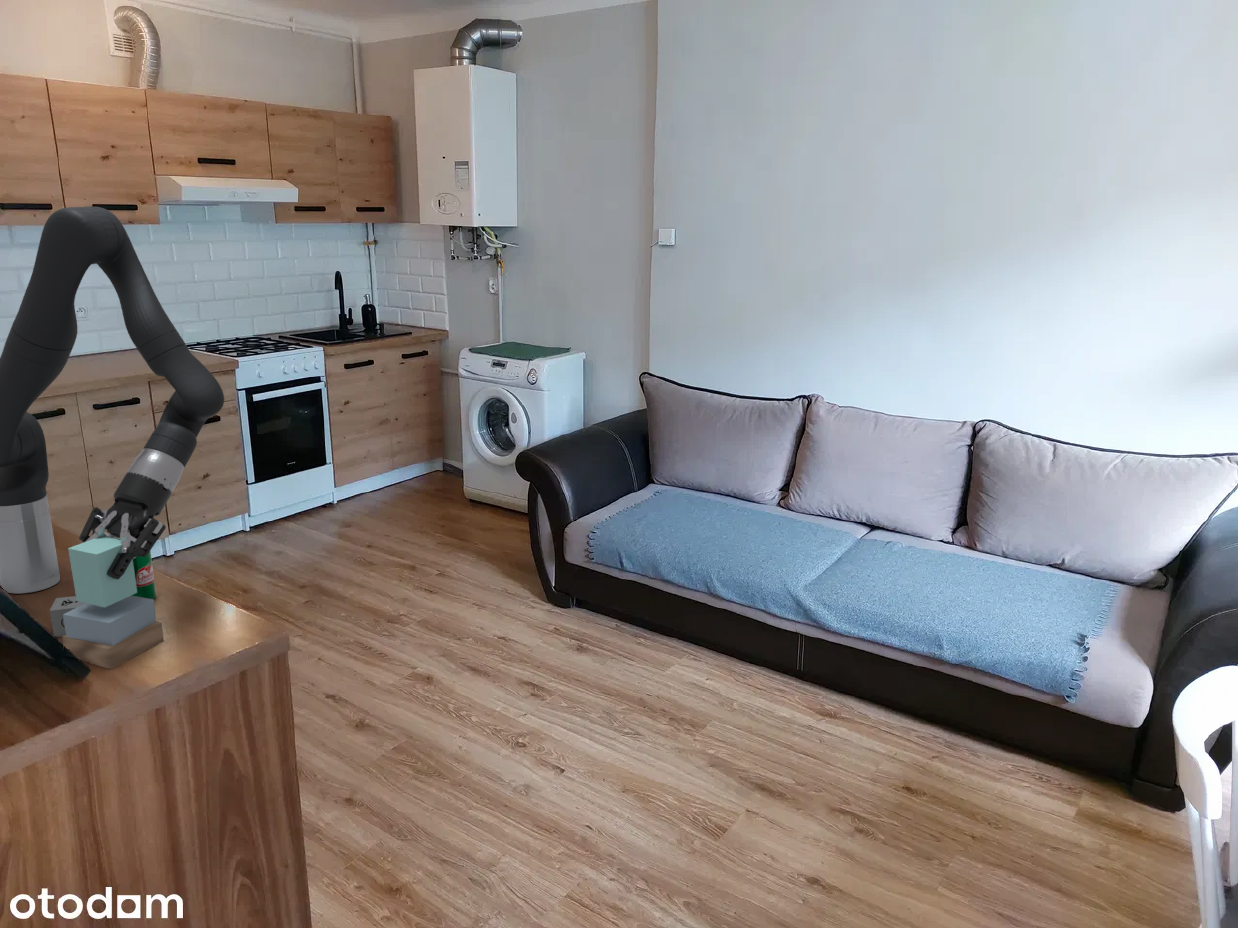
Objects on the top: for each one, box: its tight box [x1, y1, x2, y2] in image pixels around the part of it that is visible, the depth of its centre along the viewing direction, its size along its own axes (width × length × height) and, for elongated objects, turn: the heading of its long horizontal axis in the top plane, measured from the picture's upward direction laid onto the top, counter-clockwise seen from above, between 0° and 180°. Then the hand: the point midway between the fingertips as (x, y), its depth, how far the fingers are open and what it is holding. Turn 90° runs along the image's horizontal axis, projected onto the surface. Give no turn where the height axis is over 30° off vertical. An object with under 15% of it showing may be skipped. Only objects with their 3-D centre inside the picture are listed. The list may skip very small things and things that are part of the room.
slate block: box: [63, 596, 157, 646], centre depth 139 cm, size 9×9×4 cm
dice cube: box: [49, 595, 85, 638], centre depth 146 cm, size 5×5×5 cm
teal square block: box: [67, 536, 137, 608], centre depth 136 cm, size 6×6×9 cm
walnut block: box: [61, 620, 165, 670], centre depth 140 cm, size 10×10×4 cm
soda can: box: [131, 541, 157, 600], centre depth 156 cm, size 5×5×12 cm
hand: (96, 573), depth 135 cm, fingers closed on teal square block, 6 cm apart
